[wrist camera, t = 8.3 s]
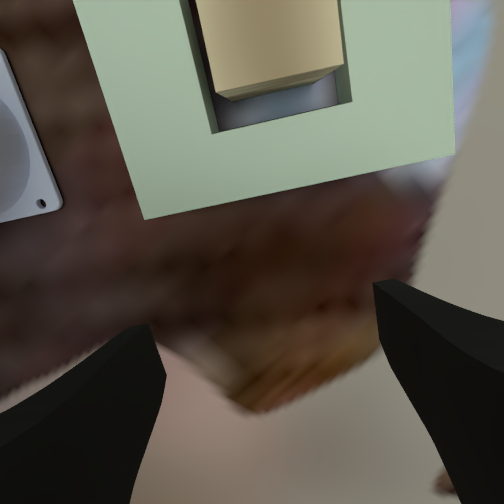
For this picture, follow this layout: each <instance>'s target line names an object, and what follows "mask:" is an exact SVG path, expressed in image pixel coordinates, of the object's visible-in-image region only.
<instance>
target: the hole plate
mask: <svg viewBox="0 0 504 504" xmlns="http://www.w3.org/2000/svg"><path fill="white" fill-rule="evenodd" d="M73 2H74V5H75V8H76V11H77V14H78V17H79V21H80V24H81V27H82V30H83V33H84V36H85V39H86V42H87V45H88V48H89V51H90V54H91V57H92V60H93V64H94V67H95V70H96V73H97V76H98V79H99V82H100V85H101V88H102V91H103V94H104V97H105V100H106V103H107V107H108V110H109V113H110V116H111V119H112V122H113V125H114V128H115V131H116V134H117V137H118V140H119V143H120V147H121V150H122V153H123V156H124V159H125V162H126V165H127V168H128V171H129V174H130V177H131V180H132V183H133V186H134V190H135V193H136V196H137V199H138V202H139V205H140V208H141V211H142V214H143V217H144V220H147V219H151V218H156V217H161V216H166V215H170V214H175V213H180V212H184V211H189V210H194V209H199V208H203V207H208V206H213V205H218V204H222V203H227V202H232V201H237V200H241V199H246V198H251V197H255V196H260V195H265V194H270V193H274V192H279V191H284V190H289V189H293V188H298V187H303V186H307V185H312V184H317V183H322V182H326V181H331V180H336V179H341V178H345V177H350V176H355V175H359V174H364V173H369V172H374V171H378V170H383V169H388V168H393V167H397V166H402V165H407V164H412V163H416V162H421V161H426V160H430V159H435V158H440V157H445V156H449V155H454V154H455V133H454V103H453V73H452V43H451V13H450V0H337V4H338V14H339V23H340V32H341V42H342V51H343V61H344V64H343V65H341V66H340V67H338V68H337V69H335V70H334V74H335V82H336V89H337V97H338V105H334V106H330V107H325V108H321V109H317V110H312V111H308V112H304V113H299V114H295V115H291V116H286V117H282V118H278V119H273V120H269V121H265V122H260V123H256V124H252V125H247V126H243V127H239V128H234V129H230V130H226V131H221V132H219V129H218V124H217V120H216V116H215V112H214V108H213V103H212V99H211V95H210V91H209V86H208V82H207V78H206V74H205V69H204V65H203V61H202V57H201V53H200V48H199V44H198V40H197V36H196V31H195V27H194V23H193V19H192V14H191V10H190V6H189V2H188V0H73Z"/></svg>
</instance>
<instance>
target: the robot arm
mask: <svg viewBox="0 0 504 504" xmlns="http://www.w3.org/2000/svg"><path fill="white" fill-rule="evenodd" d="M41 199H42V200H44V201H45V202H46V207H44V206H42V204H41V202H40V200H41ZM62 204H63V200H62V197H61V194H60V192H59V189H58V187H57V184H56V182H55V179H54V177H53V174H52V172H51V169H50V167H49V164H48V162H47V159H46V156H45V154H44V151H43V149H42V146H41V144H40V141H39V139H38V136H37V134H36V131H35V129H34V126H33V123H32V121H31V118H30V116H29V113H28V111H27V108H26V106H25V103H24V101H23V98H22V96H21V93H20V91H19V88H18V85H17V83H16V80H15V78H14V75H13V73H12V70H11V68H10V65H9V63H8V60H7V58H6V55H5V53H4V52H3V50H2V49H0V223H1V222H6V221H10V220H15V219H20V218H24V217H29V216H33V215H38V214H42V213H47V212H51V211H55V210H57V209H59V208H61V206H62ZM373 290H374V299H375V307H376V315H377V324H378V332H379V340H380V342H381V345H382V347H383V350H384V352H385V355H386V357H387V359H388V362H389V364H390V366H391V368H392V370H393V372H394V374H395V375H396V377H397V379H398V380H399V382H400V384H401V386H402V388H403V389H404V391H405V393H406V394H407V396H408V398H409V400H410V401H411V403H412V405H413V406H414V408H415V410H416V412H417V413H418V415H419V417H420V419H421V420H422V422H423V424H424V425H425V427H426V429H427V431H428V433H429V434H430V436H431V438H432V440H433V442H434V444H435V446H436V448H437V450H438V453H439V455H440V457H441V459H442V461H443V464H444V466H445V468H446V470H447V472H448V475H449V477H450V479H451V481H452V484H453V486H454V488H455V490H456V493H457V495H458V497H459V500H460V502H461V504H504V321H501V320H498V319H494V318H491V317H487V316H484V315H481V314H478V313H475V312H472V311H470V310H467V309H464V308H461V307H458V306H456V305H453V304H450V303H448V302H446V301H443V300H441V299H438V298H436V297H433V296H431V295H429V294H427V293H424V292H422V291H420V290H418V289H416V288H414V287H411V286H409V285H407V284H405V283H402V282H400V281H397V280H395V279H390V280H384V281H379V282H374V283H373ZM166 376H167V375H166V372H165V369H164V366H163V364H162V361H161V358H160V355H159V352H158V349H157V347H156V344H155V341H154V338H153V335H152V333H151V330H150V327H149V324H144V325H138V326H133V327H130V328H128V329H126V330H124V331H123V332H121V333H120V334H118V335H117V336H115V337H114V338H113V339H111V340H110V341H108V342H107V343H106V344H104V345H103V346H102V347H100V348H99V349H98V350H96V351H95V352H94V353H92V354H91V355H90V356H88V357H87V358H86V359H84V360H83V361H82V362H80V363H79V364H78V365H76V366H75V367H73V368H72V369H71V370H69V371H68V372H66V373H65V374H63V375H62V376H61V377H59V378H58V379H56V380H55V381H54V382H52V383H51V384H49V385H48V386H46V387H45V388H43V389H42V390H40V391H38V392H37V393H35V394H34V395H32V396H30V397H28V398H27V399H25V400H23V401H22V402H20V403H19V404H17V405H15V406H13V407H12V408H10V409H8V410H6V411H4V412H2V413H0V504H129V503H130V499H131V495H132V491H133V487H134V483H135V480H136V477H137V473H138V470H139V467H140V464H141V462H142V458H143V456H144V453H145V450H146V447H147V444H148V441H149V439H150V436H151V433H152V430H153V427H154V424H155V421H156V418H157V415H158V413H159V410H160V406H161V403H162V398H163V394H164V388H165V382H166Z"/></svg>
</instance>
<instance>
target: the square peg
mask: <svg viewBox="0 0 504 504" xmlns="http://www.w3.org/2000/svg"><path fill="white" fill-rule="evenodd" d="M196 3H197V8H198V13H199V17H200V22H201V26H202V31H203V36H204V40H205V45H206V49H207V54H208V59H209V63H210V68H211V73H212V77H213V82H214V86H215V91H216V93H218V94H220V95H222V96H223V97H225V98H227V99H229V100H231V101H237V100H241V99H246V98H251V97H255V96H260V95H264V94H269V93H273V92H278V91H282V90H287V89H291V88H296V87H300V86H305V85H310V84H314V83H315V82H317V81H318V80H320V79H321V78H323V77H324V76H326V75H327V74H329V73H330V72H332V71H333V70H335V69H337V68H338V67H340V66H341V65H343V64H344V61H343V51H342V42H341V32H340V23H339V14H338V4H337V0H196Z"/></svg>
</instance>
